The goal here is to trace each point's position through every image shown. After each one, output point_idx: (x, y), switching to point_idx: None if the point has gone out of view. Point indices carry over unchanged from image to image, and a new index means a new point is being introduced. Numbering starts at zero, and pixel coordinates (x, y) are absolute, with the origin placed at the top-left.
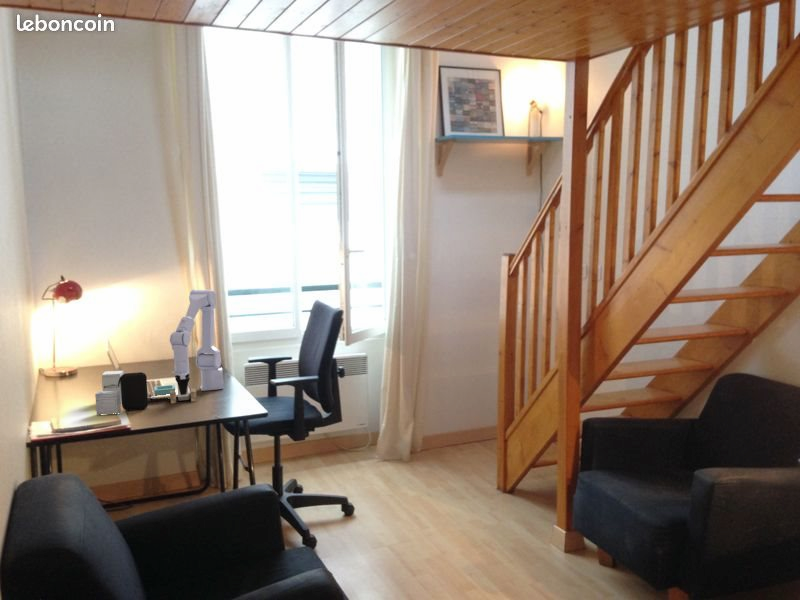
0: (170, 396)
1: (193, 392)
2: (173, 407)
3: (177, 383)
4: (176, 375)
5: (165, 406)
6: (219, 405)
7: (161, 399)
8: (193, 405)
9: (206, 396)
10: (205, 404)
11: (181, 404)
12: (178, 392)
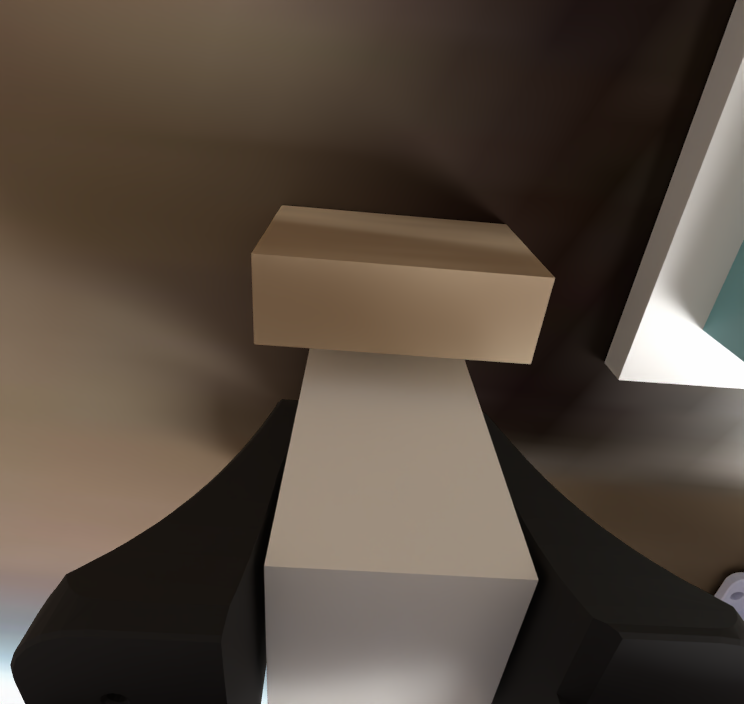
0: (480, 241)
1: None
2: (3, 208)
3: (475, 499)
4: (734, 672)
5: (105, 94)
6: (9, 610)
7: (677, 87)
8: (67, 437)
9: None
10: (84, 532)
11: (168, 328)
12: (301, 392)
